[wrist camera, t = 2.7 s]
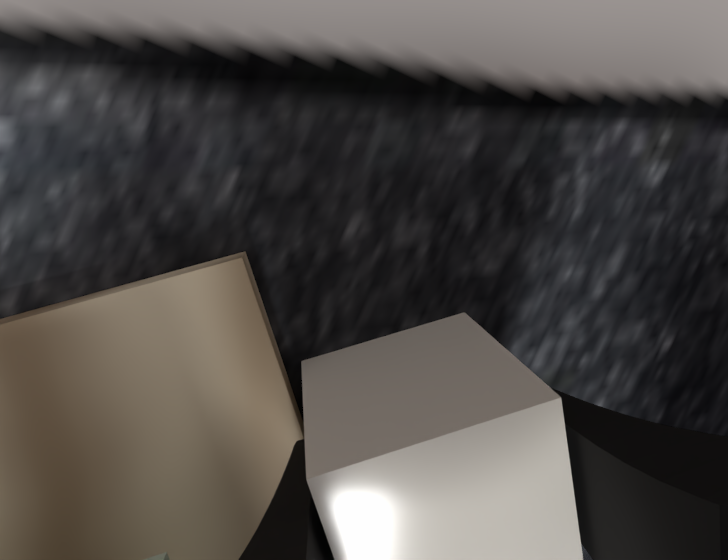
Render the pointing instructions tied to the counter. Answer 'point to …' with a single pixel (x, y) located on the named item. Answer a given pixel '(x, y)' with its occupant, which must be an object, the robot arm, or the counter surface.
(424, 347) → the cream cube
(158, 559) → the trapdoor
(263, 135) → the counter surface
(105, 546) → the stand
